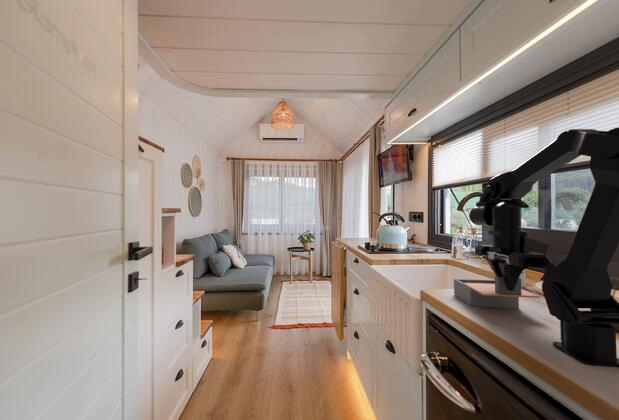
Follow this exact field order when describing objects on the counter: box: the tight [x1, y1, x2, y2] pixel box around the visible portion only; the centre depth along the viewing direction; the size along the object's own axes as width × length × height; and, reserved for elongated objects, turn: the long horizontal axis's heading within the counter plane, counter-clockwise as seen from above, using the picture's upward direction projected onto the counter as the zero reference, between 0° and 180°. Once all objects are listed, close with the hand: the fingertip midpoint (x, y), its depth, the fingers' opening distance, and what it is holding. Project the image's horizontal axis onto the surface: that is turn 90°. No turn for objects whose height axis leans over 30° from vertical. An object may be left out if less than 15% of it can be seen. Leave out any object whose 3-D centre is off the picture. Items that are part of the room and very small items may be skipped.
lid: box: [463, 275, 540, 299], centre depth 65 cm, size 10×12×4 cm
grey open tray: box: [453, 278, 520, 309], centre depth 71 cm, size 10×12×5 cm
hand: (508, 289), depth 61 cm, fingers closed on lid, 2 cm apart
